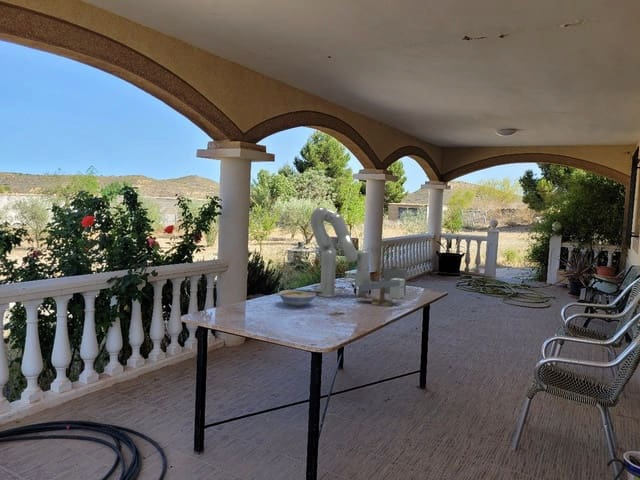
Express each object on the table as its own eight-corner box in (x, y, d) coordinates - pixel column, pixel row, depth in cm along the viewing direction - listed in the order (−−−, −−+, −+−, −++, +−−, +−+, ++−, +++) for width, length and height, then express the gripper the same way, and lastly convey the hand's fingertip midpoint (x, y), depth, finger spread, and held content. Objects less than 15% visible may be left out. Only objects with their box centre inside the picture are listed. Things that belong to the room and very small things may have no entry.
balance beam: (360, 295, 290) (359, 287, 289) (362, 292, 299) (360, 284, 299) (400, 289, 285) (399, 281, 285) (400, 287, 295) (399, 279, 295)
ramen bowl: (269, 305, 275) (269, 292, 275) (289, 299, 295) (289, 286, 295) (305, 311, 264) (306, 297, 263) (324, 304, 284) (324, 291, 283)
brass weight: (357, 297, 309) (358, 286, 308) (358, 295, 314) (358, 285, 313) (365, 297, 308) (365, 287, 307) (365, 296, 313) (366, 286, 312)
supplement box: (399, 299, 307) (399, 280, 306) (389, 297, 311) (389, 278, 310) (404, 297, 312) (405, 279, 311) (394, 296, 317) (395, 277, 316)
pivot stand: (371, 305, 285) (372, 287, 284) (373, 299, 303) (373, 282, 302) (391, 306, 283) (392, 288, 282) (391, 300, 300) (392, 283, 300)
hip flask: (405, 293, 326) (407, 265, 324) (404, 294, 322) (406, 266, 321) (383, 291, 332) (384, 264, 330) (382, 292, 328) (383, 264, 326)
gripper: (349, 269, 307) (348, 294, 308) (375, 270, 304) (375, 296, 305) (350, 267, 314) (350, 292, 316) (376, 268, 311) (375, 294, 313)
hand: (362, 294), depth 311 cm, fingers open, 8 cm apart
